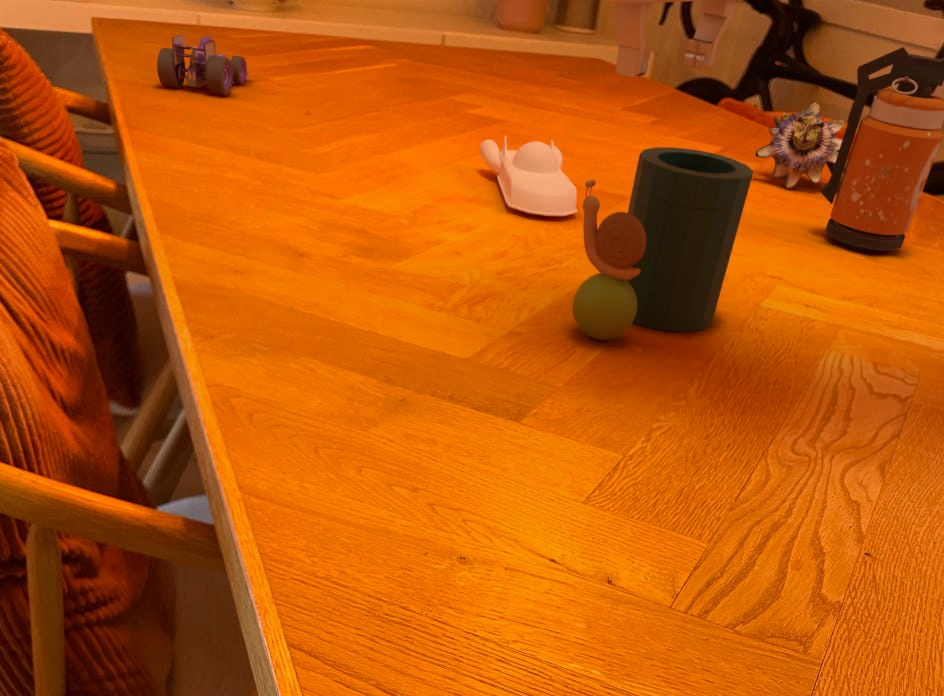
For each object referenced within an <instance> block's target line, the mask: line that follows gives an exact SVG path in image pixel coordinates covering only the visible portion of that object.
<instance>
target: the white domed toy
mask: <svg viewBox="0 0 944 696" xmlns="http://www.w3.org/2000/svg"><path fill="white" fill-rule="evenodd" d="M507 141H508V139H507V135H504V138H503V144H502V149H501V150H500V148H499V146H498V145H497V143H496V141H494V140H493V139H485V140H483V141H482V142H481V143H480V147H479V154H480V156H481V157H482V159H483V161H484V162H485V164H486V165H487V166H488V168H490V169H491V170H492V171H493V172H495V173H496V174H495V175H496V177H497V181H498V184H499V187H500V190H501V193H502V195H503V198H504V201H505V204H506V205H507V207H508V208H511V209H514V210H517V211H520V212H524V213H526V214H531V215H539V216H545V217H567V216H570V215H573V214H578V209H577V187H576V186H575V184H574V183H573V182H572V181H571V180H570V178H569V177H568V176H567V175H566V174H565V172H564V171H562V167H563V158H564V157H563V154H562V152H561V150H560V149H559V148H558V147H557V146H555V145H554V140H552V139H551V140H550V145H548V144H547V143H545V142H543V141H535V140H534V141H530V142H529V141H528V142H527V143H525V144H523V145H521V146H520V147H519V148H518V149H517V150H514V149H508V145H507V144H508V143H507Z"/></svg>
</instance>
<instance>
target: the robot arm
mask: <svg viewBox="0 0 944 696" xmlns="http://www.w3.org/2000/svg"><path fill="white" fill-rule="evenodd" d="M608 1H609V2H614V3H615V5H614V12H613V22H614V28H615V33H616V38H617V39H616V40H617V45H618V51H617V57H616V63H615V64H616V65H615V71H616V73H617V74H618V75H620V76H624V77H629V78H635V77H641V76H644V75H646V74H647V72H648V68H649V61H650V57H651V52H652V48H649V47H646V24H645V22H650V19H651V16H652V15H651V14H652V9H653V5H654V3H678V2H680V3H681V2H682V3H683V2H701V3H700V7H699V13H702V14H701V17H700V20H699V22H698V25H697V27H696V30H695V33H694V35H693V38H690V39H687V43H686V48H685V52H686V53H685V54H684V56H683V57H684V59H683V63H684V65H685V66H686V67H687V68H693V69H696V70H703V69H709V68H711V67H712V65H713V64H714V59H715V55H716V50H717V47H718V43H719V42H720V40H721V38H722V37H723V34H724V33H725V31H726V29H727V27H728V25H729V23H730V21H731V19H732V17H733V13H734V9H735V4H736V0H607V2H608Z"/></svg>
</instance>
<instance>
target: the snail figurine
mask: <svg viewBox="0 0 944 696" xmlns="http://www.w3.org/2000/svg"><path fill="white" fill-rule="evenodd" d="M596 185H597V184H596V180H595V179H590V180H586V182H585V183H584V186H585V188H586V191H585V198H584V199H583V203H582V210H583V222H582V223H583V224H582V228H583V230H582V231H583V244H584V250H585V254H586V257H587V259H588V260H589V262H590V263H591V265H592V266H593V267H594V268H595V269H596V270H597V271H598V272H599V273H595V274H593V275H591V276H589V277H588V278H586V279H585V280H584V281H583V282H582V283H581V284H580V285H579V287H578V288H577V290H576V291H575V294H574V297H573V301H572V314H573V319H574V322H575V323H576V325H577V327H578V329H579V330H581V332H582V333H583V334H585V335H586V336H588V337H589V338H592V339H594V340H598V341H609V340H613V339H615V338H618V337H621V335H623V334H624V333H625V332H627V330H628V329H630V327H631V326H632V324H633V321H634V319H635V316H636V312H637V297H636V294H635V291H634V289H633V287H632V286H631V284H630V283H629V282H628V281H627V280H630V279H632V278H634V277H636V276H637V275H638V274H640V272H641V270H640V269H638V268H632V267H631V266H633V265H634V264H636V263H637V262H638V261H639V260H640V259H641V258H642V256H643V254H644V252H645V248H646V233H645V230H644V227H643V225H642V224H641V222H640V221H639V220H638V219H637V218H636V217H635V216H633V215H631V214H629V213H628V212H626V211H617V212H614V213H611V214H609V215H608V216H606V217H605V218H604V219H603V220H602V221H601V223H600V224H599V226H598V213H599V210H600V206H601V204H600V200H599V198H598V197H596V196H595V195H591V194H592V188H594V187H595V186H596ZM589 188H590V189H589ZM588 189H589V195H588ZM587 195H588V196H587Z"/></svg>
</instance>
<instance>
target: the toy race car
mask: <svg viewBox="0 0 944 696" xmlns="http://www.w3.org/2000/svg"><path fill="white" fill-rule="evenodd" d="M171 43H172V47H171V48H170V47H162V48H161V49H160V50H159V52H158V55H157V61H156V62H157V64H156V70H157V71H156V72H157V76H158V80H159V81H160V82H159V83H160V84H161V85H162V86H163V87H167V88H174V89H175V88H176V89H181V88H182V87H183V85H184V82H185V80H187V86H188V87H189V88H193V89H198V88H206V89H207V90H208V92H209V93H210V94H211V95H216V96H217V95H218V96H223V97H228V96H229V95H231V92H232V89H233V88H232V87H233V85H234V84H235V85H241V86H243V85H244V84H245V83H246V81H248V80H249V72H248V70H247V69H248V66H247V61H246V58H245V57H244V56H239V55H232V57H230V58H229V57H227V56H226V55H225V54H223V53H216V43H215V41H214V40H213V39H211V37H210V36H209V35H206V36H203V37H202V38H200V40H199V44H198V46H191V45H188V44H187V45H186V44H185V38H184V36H183V34H180V35H177V36H174V37H171ZM185 50H188V51H189V50H192V51H191V52H190V54H189V53H185ZM185 58H189V65H188V67H187V68H186V61H185V60H186V59H185ZM186 73H187V74H186Z"/></svg>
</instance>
